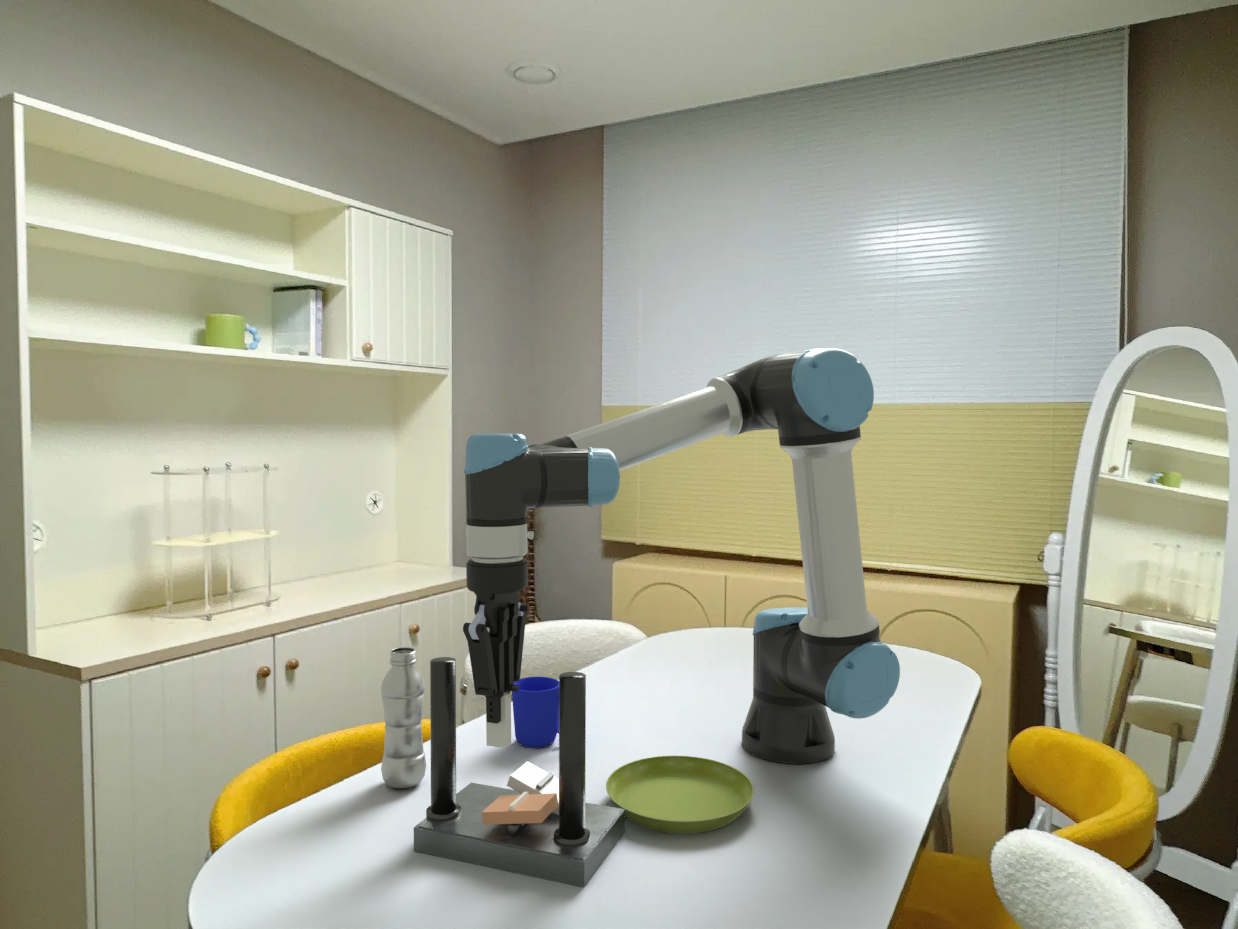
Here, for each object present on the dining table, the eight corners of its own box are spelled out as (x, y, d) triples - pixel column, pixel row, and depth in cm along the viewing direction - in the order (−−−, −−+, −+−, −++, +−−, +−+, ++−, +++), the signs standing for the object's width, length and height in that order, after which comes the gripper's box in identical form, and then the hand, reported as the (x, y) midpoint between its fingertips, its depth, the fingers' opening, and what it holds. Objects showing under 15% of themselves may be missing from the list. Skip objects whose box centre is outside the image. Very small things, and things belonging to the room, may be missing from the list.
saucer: (609, 774, 127) (609, 754, 127) (744, 777, 126) (744, 756, 126) (602, 842, 106) (602, 818, 106) (763, 845, 106) (764, 821, 105)
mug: (575, 756, 133) (575, 694, 133) (504, 749, 136) (504, 689, 135) (587, 737, 141) (588, 679, 141) (520, 731, 144) (520, 675, 143)
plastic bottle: (386, 797, 118) (385, 659, 117) (377, 779, 124) (376, 647, 123) (431, 789, 121) (430, 653, 120) (420, 771, 127) (419, 642, 126)
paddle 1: (574, 799, 110) (579, 786, 110) (559, 815, 105) (564, 802, 105) (523, 770, 113) (528, 757, 112) (506, 785, 108) (511, 772, 108)
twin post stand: (625, 831, 108) (626, 658, 107) (584, 887, 95) (585, 690, 94) (466, 802, 116) (466, 641, 115) (408, 850, 103) (407, 668, 102)
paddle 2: (558, 805, 104) (555, 789, 104) (541, 823, 99) (538, 806, 99) (502, 807, 107) (500, 791, 107) (483, 824, 102) (480, 808, 102)
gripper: (495, 548, 110) (497, 723, 111) (442, 564, 98) (444, 760, 99) (546, 551, 107) (548, 730, 108) (498, 568, 95) (500, 769, 96)
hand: (498, 744), depth 104 cm, fingers closed
